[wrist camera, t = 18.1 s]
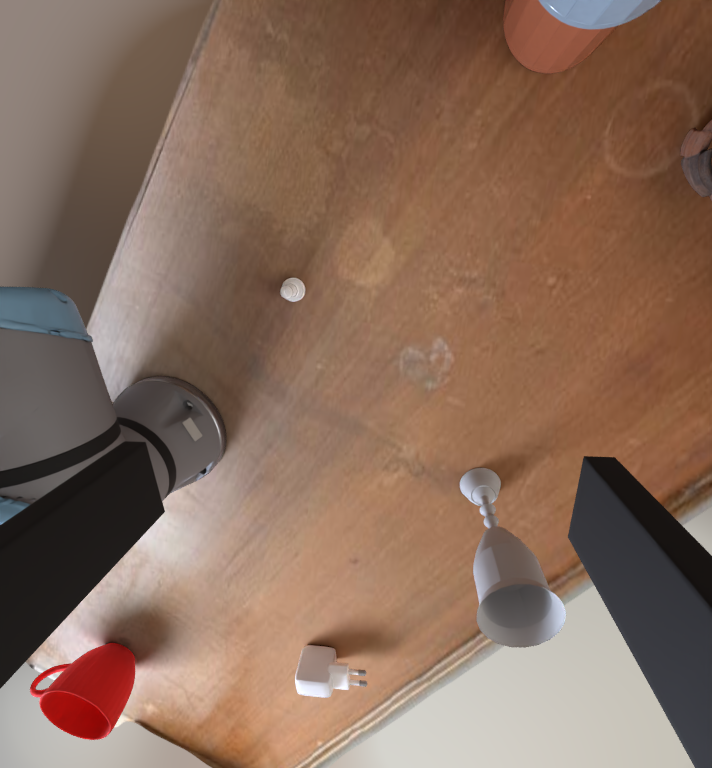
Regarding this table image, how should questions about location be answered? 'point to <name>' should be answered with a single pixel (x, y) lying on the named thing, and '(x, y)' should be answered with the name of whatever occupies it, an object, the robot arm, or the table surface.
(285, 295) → the chess pawn
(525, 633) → the chalice
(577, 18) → the light blue round container
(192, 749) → the table surface
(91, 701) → the ceramic cup
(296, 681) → the power adapter
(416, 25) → the table surface
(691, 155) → the pottery mug
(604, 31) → the mug
